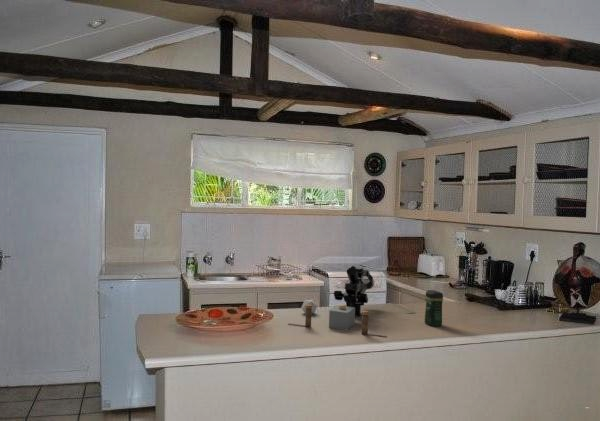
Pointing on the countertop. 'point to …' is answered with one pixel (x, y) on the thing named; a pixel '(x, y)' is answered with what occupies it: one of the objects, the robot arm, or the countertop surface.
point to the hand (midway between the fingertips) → (347, 309)
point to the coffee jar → (433, 308)
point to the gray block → (342, 317)
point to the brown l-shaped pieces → (364, 321)
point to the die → (309, 302)
